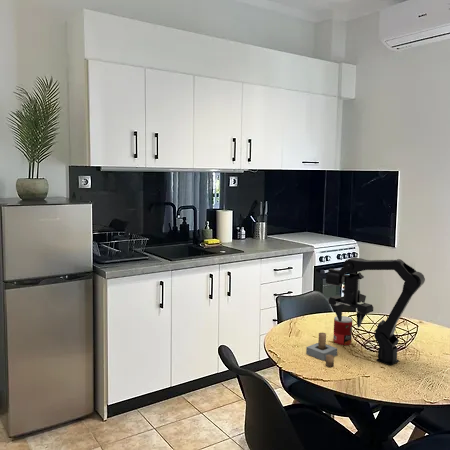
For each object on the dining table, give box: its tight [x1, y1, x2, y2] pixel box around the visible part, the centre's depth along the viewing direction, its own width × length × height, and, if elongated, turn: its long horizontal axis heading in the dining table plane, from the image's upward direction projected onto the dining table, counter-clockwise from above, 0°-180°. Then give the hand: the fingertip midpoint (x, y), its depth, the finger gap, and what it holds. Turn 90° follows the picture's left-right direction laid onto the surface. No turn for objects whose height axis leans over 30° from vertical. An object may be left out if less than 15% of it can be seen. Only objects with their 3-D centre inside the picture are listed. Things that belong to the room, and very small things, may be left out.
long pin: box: [317, 332, 327, 350], centre depth 196 cm, size 3×3×9 cm
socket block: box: [305, 342, 338, 362], centre depth 196 cm, size 9×9×3 cm
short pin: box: [325, 355, 335, 368], centre depth 185 cm, size 3×3×4 cm
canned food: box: [332, 315, 353, 346], centre depth 210 cm, size 8×8×11 cm
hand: (349, 324), depth 199 cm, fingers open, 9 cm apart
